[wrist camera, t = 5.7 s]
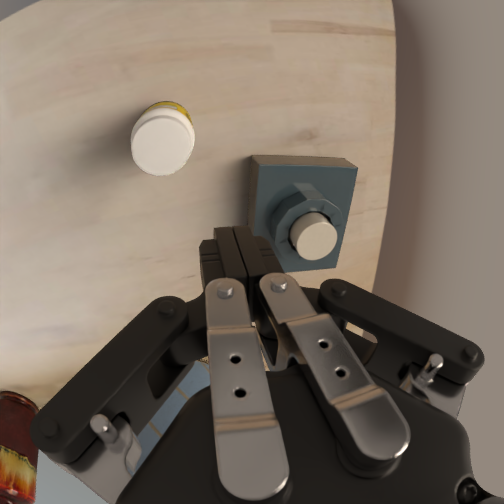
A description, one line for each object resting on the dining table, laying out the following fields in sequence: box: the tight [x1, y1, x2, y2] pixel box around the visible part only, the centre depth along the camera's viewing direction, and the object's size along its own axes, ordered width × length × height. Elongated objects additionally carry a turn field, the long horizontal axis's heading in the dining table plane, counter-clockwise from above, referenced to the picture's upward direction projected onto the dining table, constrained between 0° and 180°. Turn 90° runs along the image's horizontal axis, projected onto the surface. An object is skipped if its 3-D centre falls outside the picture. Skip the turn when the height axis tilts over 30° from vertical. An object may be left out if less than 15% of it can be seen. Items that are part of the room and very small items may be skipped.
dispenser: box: [247, 155, 358, 273], centre depth 31 cm, size 12×10×5 cm
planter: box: [135, 360, 210, 472], centre depth 38 cm, size 19×19×20 cm
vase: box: [0, 391, 39, 504], centre depth 32 cm, size 11×11×26 cm
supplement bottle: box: [131, 101, 195, 176], centre depth 22 cm, size 5×5×8 cm
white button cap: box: [290, 212, 337, 260], centre depth 29 cm, size 4×4×2 cm
